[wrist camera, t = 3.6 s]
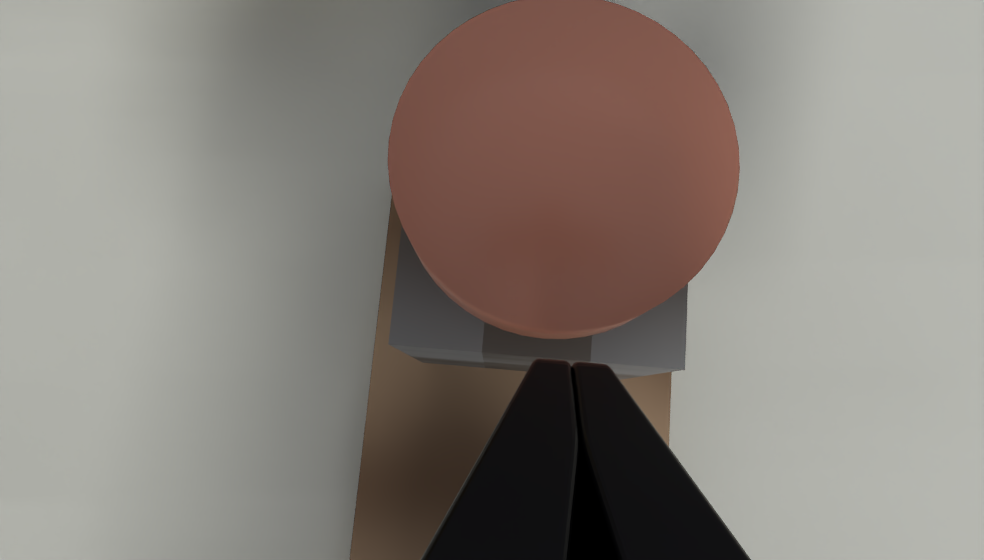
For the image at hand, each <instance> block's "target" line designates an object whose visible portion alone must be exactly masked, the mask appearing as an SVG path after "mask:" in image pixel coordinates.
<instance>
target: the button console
mask: <svg viewBox="0 0 984 560" xmlns="http://www.w3.org/2000/svg"><path fill="white" fill-rule="evenodd" d="M687 290H688V283H687V284H686V285H685V286H684V287H683V288H682V289H681V290H679V291H678V292H677V293H675V294H674V295H673V296H671V297H670V298H669V299H667V300H666V301H664V302H663V303H661V304H659V305H657V306H656V307H654V308H652V309H650V310H649V311H647V312H645V313H643V314H642V315H640V316H638V317H636V318H635V319H633V320H631V321H629V322H627V323H626V324H624V325H621V326H619V327H616V328H614V329H611V330H609V331H606V332H603V333H599V334H595V335H590V336H586V337H579V338H570V339H541V338H535V337H528V336H522V335H519V334H515V333H512V332H508V331H505V330H502V329H500V328H497V327H495V326H493V325H490V324H488V323H486V322H483V321H482V320H480V319H479V318H477V317H475V316H474V315H472V314H470V313H469V312H467V311H465V310H464V309H463V308H462V307H460V306H459V305H458V304H457V303H455V302H454V301H453V300H452V299H450V298H449V297H448V296H447V295H446V294H445V293H444V291H443V290H442V289H441V288H440V287H439V286H438V285H437V284H436V283H435V282H434V280H433V279H432V278H431V276H430V275H429V273H428V272H427V271H426V269H425V268H424V266H423V265H422V263H421V261H420V259H419V257H418V255H417V254H416V252H415V250H414V248H413V246H412V244H411V242H410V240H409V238H408V236H407V234H406V232H405V231H404V229H403V227H402V224H401V221H400V219H399V216H398V213H397V211H396V208H395V205H394V201H393V196H392V199H391V208H390V216H389V225H388V234H387V242H386V251H385V259H384V268H383V277H382V285H381V294H380V303H379V311H378V320H377V328H376V337H375V346H374V354H373V363H372V371H371V380H370V389H369V397H368V406H367V414H366V423H365V432H364V440H363V449H362V458H361V466H360V475H359V483H358V492H357V501H356V509H355V518H354V526H353V535H352V544H351V552H350V560H420V559H421V557H422V555H423V554H424V552H425V550H426V548H427V547H428V545H429V543H430V541H431V540H432V538H433V536H434V534H435V533H436V531H437V529H438V527H439V526H440V524H441V522H442V520H443V519H444V517H445V515H446V513H447V511H448V510H449V508H450V506H451V504H452V503H453V501H454V499H455V497H456V496H457V494H458V492H459V490H460V489H461V487H462V485H463V483H464V482H465V480H466V478H467V476H468V475H469V473H470V471H471V469H472V468H473V466H474V464H475V462H476V460H477V459H478V457H479V455H480V453H481V452H482V450H483V448H484V446H485V445H486V443H487V441H488V439H489V438H490V436H491V434H492V432H493V431H494V429H495V427H496V425H497V424H498V422H499V420H500V418H501V416H502V415H503V413H504V411H505V409H506V408H507V406H508V404H509V402H510V401H511V399H512V397H513V395H514V394H515V392H516V390H517V388H518V387H519V385H520V383H521V381H522V380H523V378H524V376H525V374H526V373H527V371H528V369H529V367H530V365H531V364H532V362H533V361H534V360H536V359H539V358H541V359H553V360H564V361H567V362H569V364H570V365H571V366H572V365H573V363H575V362H587V363H599V364H605V365H608V366H609V367H610V368H611V369H612V370H613V371H614V373H615V374H616V375H617V377H618V378H619V380H620V381H621V382H622V384H623V385H624V386H625V388H626V389H627V391H628V392H629V393H630V395H631V396H632V397H633V399H634V400H635V401H636V403H637V404H638V406H639V407H640V408H641V410H642V411H643V412H644V414H645V415H646V417H647V418H648V419H649V421H650V422H651V423H652V425H653V426H654V428H655V429H656V430H657V432H658V433H659V434H660V436H661V437H662V438H663V440H664V441H665V443H666V444H667V445H668V447H669V425H670V398H671V372H673V371H679V370H685V351H686V321H687Z"/></svg>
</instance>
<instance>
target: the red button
mask: <svg viewBox="0 0 984 560" xmlns="http://www.w3.org/2000/svg"><path fill="white" fill-rule="evenodd" d="M388 170H389V182H390V188H391V192H392V196H393V201H394V205H395V208H396V211H397V213H398V216H399V219H400V221H401V224H402V227H403V229H404V231H405V232H406V234H407V236H408V238H409V240H410V242H411V244H412V246H413V248H414V250H415V252H416V254H417V255H418V257H419V259H420V261H421V263H422V265H423V266H424V268H425V269H426V271H427V272H428V273H429V275H430V276H431V278H432V279H433V280H434V282H435V283H436V284H437V285H438V286H439V287H440V288H441V289H442V290H443V291H444V293H445V294H446V295H447V296H448V297H449V298H450V299H452V300H453V301H454V302H455V303H457V304H458V305H459V306H460V307H462V308H463V309H464V310H465V311H467V312H469V313H470V314H472V315H474V316H475V317H477V318H479V319H480V320H482V321H483V322H486V323H488V324H490V325H493V326H495V327H497V328H500V329H502V330H505V331H508V332H512V333H515V334H519V335H522V336H528V337H535V338H541V339H570V338H579V337H586V336H590V335H595V334H599V333H603V332H606V331H609V330H611V329H614V328H616V327H619V326H621V325H624V324H626V323H627V322H629V321H631V320H633V319H635V318H636V317H638V316H640V315H642V314H643V313H645V312H647V311H649V310H650V309H652V308H654V307H656V306H657V305H659V304H661V303H663V302H664V301H666V300H667V299H669V298H670V297H671V296H673V295H674V294H675V293H677V292H678V291H679V290H681V289H682V288H683V287H684V286H685V285H686V284H687V283H688V282H689V281H690V280H691V279H692V278H693V277H694V276H695V275H696V274H697V273H698V272H699V271H700V270H701V269H702V268H703V266H704V265H705V264H706V262H707V261H708V260H709V258H710V257H711V256H712V254H713V253H714V251H715V250H716V248H717V246H718V244H719V242H720V241H721V239H722V237H723V235H724V233H725V231H726V228H727V226H728V223H729V221H730V218H731V215H732V213H733V209H734V204H735V200H736V196H737V191H738V181H739V170H740V166H739V147H738V141H737V136H736V131H735V125H734V122H733V119H732V116H731V113H730V110H729V107H728V104H727V102H726V100H725V98H724V96H723V94H722V92H721V90H720V88H719V86H718V84H717V83H716V81H715V80H714V78H713V77H712V75H711V74H710V72H709V71H708V69H707V67H706V66H705V65H704V64H703V63H702V61H701V60H700V59H699V58H698V57H697V56H696V54H695V53H694V52H693V51H692V50H691V49H690V48H689V47H688V46H687V45H686V44H684V43H683V42H682V41H681V40H680V39H679V38H678V37H677V36H676V35H674V34H673V33H671V32H670V31H669V30H667V29H666V28H664V27H663V26H662V25H660V24H659V23H657V22H655V21H653V20H652V19H650V18H648V17H646V16H644V15H642V14H640V13H639V12H636V11H634V10H631V9H629V8H626V7H623V6H621V5H618V4H615V3H611V2H607V1H603V0H518V1H513V2H509V3H506V4H503V5H501V6H498V7H495V8H492V9H489V10H487V11H485V12H483V13H481V14H479V15H477V16H475V17H473V18H471V19H469V20H468V21H466V22H465V23H464V24H462V25H461V26H459V27H458V28H456V29H455V30H453V31H452V32H450V33H449V34H448V35H447V36H446V37H445V38H444V39H442V40H441V41H440V42H439V43H438V44H437V45H436V46H435V47H434V48H433V49H432V50H431V51H430V52H429V54H428V55H427V56H426V57H425V58H424V59H423V60H422V61H421V63H420V64H419V66H418V67H417V69H416V70H415V72H414V73H413V75H412V76H411V78H410V79H409V81H408V83H407V85H406V87H405V89H404V91H403V93H402V95H401V97H400V100H399V103H398V106H397V109H396V112H395V115H394V118H393V121H392V127H391V132H390V137H389V148H388Z"/></svg>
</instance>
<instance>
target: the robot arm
mask: <svg viewBox="0 0 984 560" xmlns="http://www.w3.org/2000/svg"><path fill="white" fill-rule="evenodd" d="M420 560H751V559H750V558H749V556H748V555H747V554H746V552H745V551H744V550H743V548H742V547H741V545H740V544H739V543H738V541H737V540H736V539H735V537H734V536H733V534H732V533H731V532H730V530H729V529H728V528H727V526H726V525H725V523H724V522H723V521H722V519H721V518H720V517H719V515H718V514H717V513H716V511H715V510H714V508H713V507H712V506H711V504H710V503H709V502H708V500H707V499H706V497H705V496H704V495H703V493H702V492H701V491H700V489H699V488H698V486H697V485H696V484H695V482H694V481H693V480H692V478H691V477H690V476H689V474H688V473H687V471H686V470H685V469H684V467H683V466H682V465H681V463H680V462H679V460H678V459H677V458H676V456H675V455H674V454H673V452H672V451H671V449H670V448H669V447H668V445H667V444H666V443H665V441H664V440H663V438H662V437H661V436H660V434H659V433H658V432H657V430H656V429H655V428H654V426H653V425H652V423H651V422H650V421H649V419H648V418H647V417H646V415H645V414H644V412H643V411H642V410H641V408H640V407H639V406H638V404H637V403H636V401H635V400H634V399H633V397H632V396H631V395H630V393H629V392H628V391H627V389H626V388H625V386H624V385H623V384H622V382H621V381H620V380H619V378H618V377H617V375H616V374H615V373H614V371H613V370H612V369H611V368H610V367H609V366H608V365H605V364H599V363H587V362H575V363H573V365H572V366H571V365H570V364H569V362H567V361H564V360H553V359H541V358H539V359H536V360H534V361H533V362H532V364H531V365H530V367H529V369H528V371H527V373H526V374H525V376H524V378H523V380H522V381H521V383H520V385H519V387H518V388H517V390H516V392H515V394H514V395H513V397H512V399H511V401H510V402H509V404H508V406H507V408H506V409H505V411H504V413H503V415H502V416H501V418H500V420H499V422H498V424H497V425H496V427H495V429H494V431H493V432H492V434H491V436H490V438H489V439H488V441H487V443H486V445H485V446H484V448H483V450H482V452H481V453H480V455H479V457H478V459H477V460H476V462H475V464H474V466H473V468H472V469H471V471H470V473H469V475H468V476H467V478H466V480H465V482H464V483H463V485H462V487H461V489H460V490H459V492H458V494H457V496H456V497H455V499H454V501H453V503H452V504H451V506H450V508H449V510H448V511H447V513H446V515H445V517H444V519H443V520H442V522H441V524H440V526H439V527H438V529H437V531H436V533H435V534H434V536H433V538H432V540H431V541H430V543H429V545H428V547H427V548H426V550H425V552H424V554H423V555H422V557H421V559H420Z"/></svg>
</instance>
